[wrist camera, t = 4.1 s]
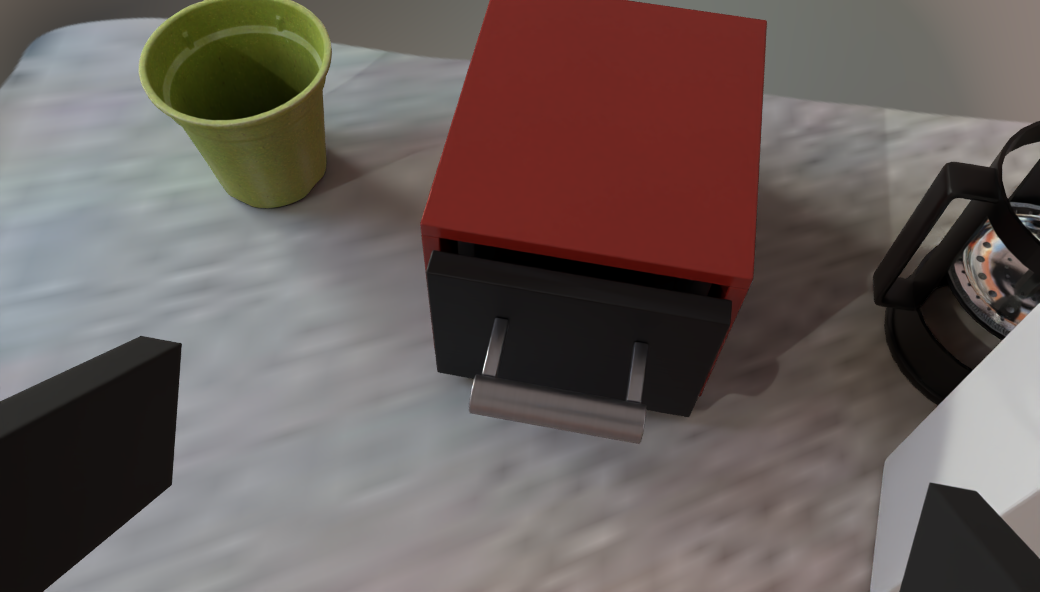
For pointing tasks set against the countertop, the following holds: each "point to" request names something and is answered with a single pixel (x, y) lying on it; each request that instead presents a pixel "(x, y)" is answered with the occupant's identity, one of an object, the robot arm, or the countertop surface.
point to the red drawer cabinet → (608, 141)
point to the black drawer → (572, 338)
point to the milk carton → (970, 452)
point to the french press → (964, 265)
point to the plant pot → (246, 92)
